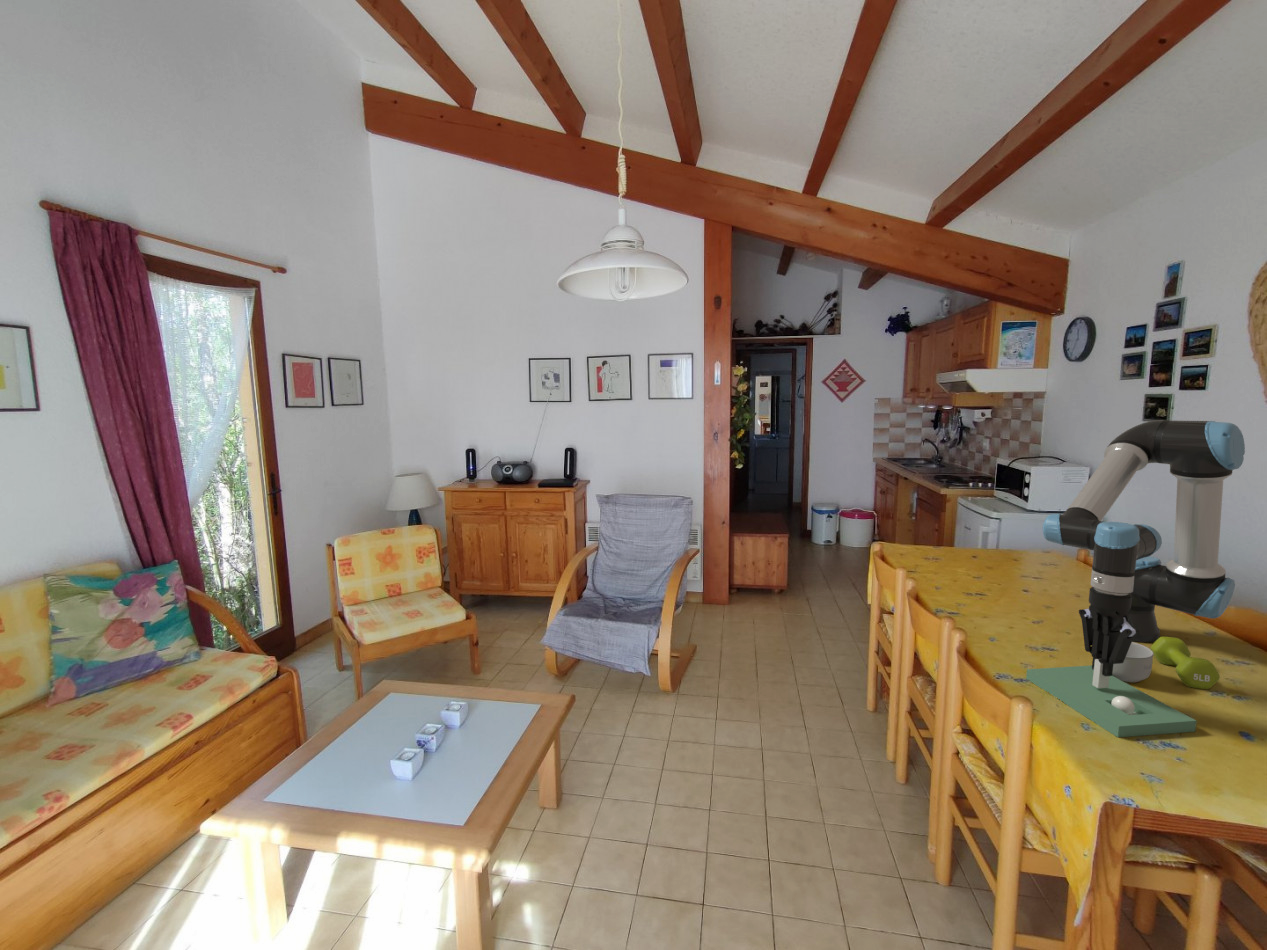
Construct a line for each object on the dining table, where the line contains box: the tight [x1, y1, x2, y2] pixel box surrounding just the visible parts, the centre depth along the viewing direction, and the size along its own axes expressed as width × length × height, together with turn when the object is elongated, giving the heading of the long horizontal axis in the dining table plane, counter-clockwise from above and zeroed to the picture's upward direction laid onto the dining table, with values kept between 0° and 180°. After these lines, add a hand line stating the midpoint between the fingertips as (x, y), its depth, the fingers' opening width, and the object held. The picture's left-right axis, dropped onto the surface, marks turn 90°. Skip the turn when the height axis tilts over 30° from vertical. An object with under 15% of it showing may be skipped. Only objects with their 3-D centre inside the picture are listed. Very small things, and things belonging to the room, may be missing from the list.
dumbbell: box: [1150, 636, 1221, 690], centre depth 146 cm, size 16×8×7 cm, turn 159°
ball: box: [1111, 696, 1135, 715], centre depth 128 cm, size 4×4×4 cm
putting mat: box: [1025, 664, 1198, 738], centre depth 133 cm, size 18×25×2 cm
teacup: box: [1112, 641, 1154, 683], centre depth 146 cm, size 14×11×8 cm
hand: (1100, 686), depth 135 cm, fingers closed
